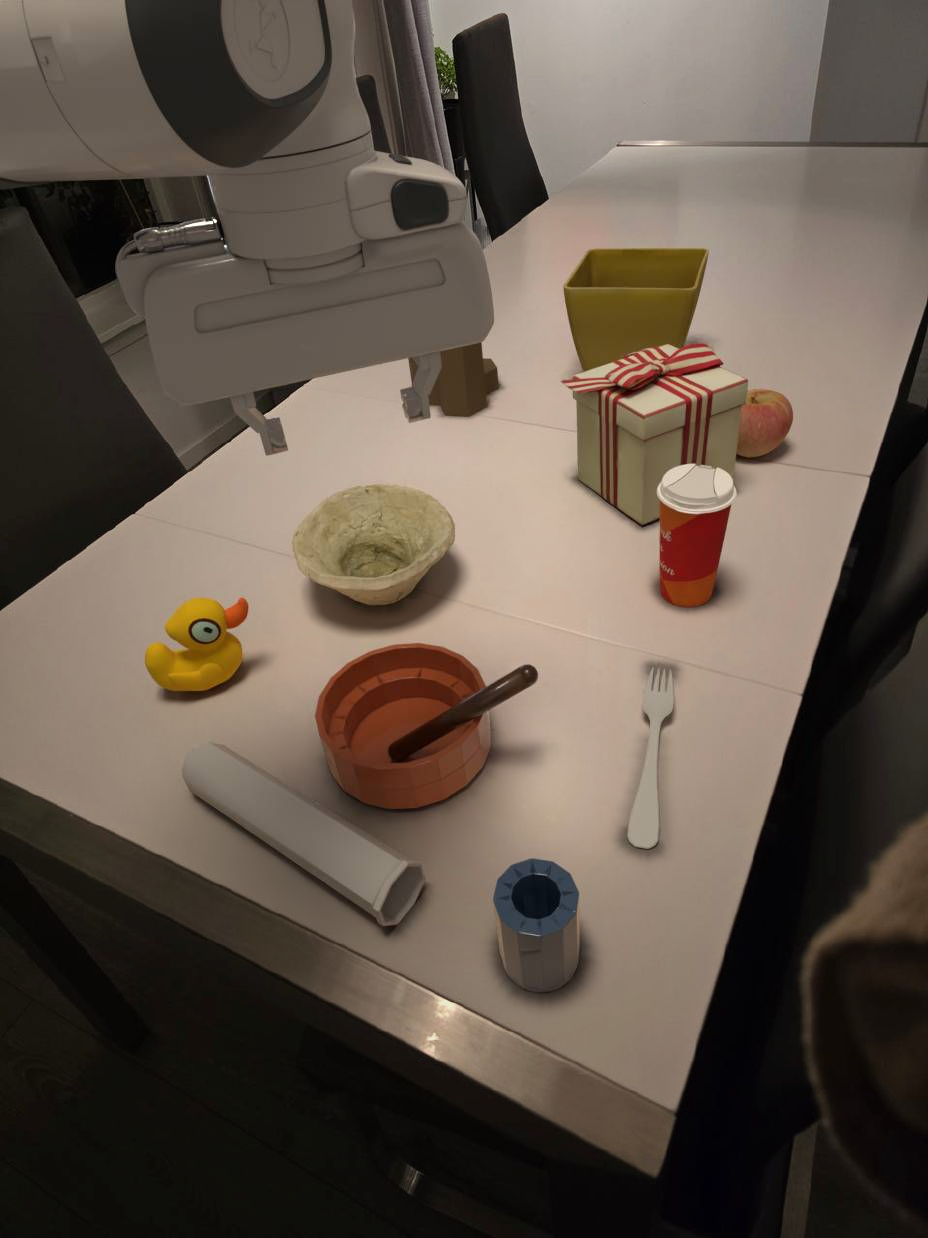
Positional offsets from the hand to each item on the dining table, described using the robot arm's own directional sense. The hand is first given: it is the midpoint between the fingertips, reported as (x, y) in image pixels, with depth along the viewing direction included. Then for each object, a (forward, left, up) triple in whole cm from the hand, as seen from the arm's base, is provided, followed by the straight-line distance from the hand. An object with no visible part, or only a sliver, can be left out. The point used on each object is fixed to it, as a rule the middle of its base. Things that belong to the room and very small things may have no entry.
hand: (348, 433), depth 52 cm
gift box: (+40, +34, -33) cm, 62 cm away
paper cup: (+34, +12, -33) cm, 49 cm away
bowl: (+3, +27, -33) cm, 43 cm away
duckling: (-17, +19, -33) cm, 42 cm away
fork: (+20, -7, -33) cm, 40 cm away
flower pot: (+54, +65, -33) cm, 91 cm away
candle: (+26, +70, -33) cm, 82 cm away
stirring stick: (-2, +1, -32) cm, 32 cm away
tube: (-12, -4, -33) cm, 36 cm away
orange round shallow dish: (0, +2, -33) cm, 33 cm away
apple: (+57, +35, -33) cm, 75 cm away
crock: (+4, -21, -33) cm, 39 cm away
